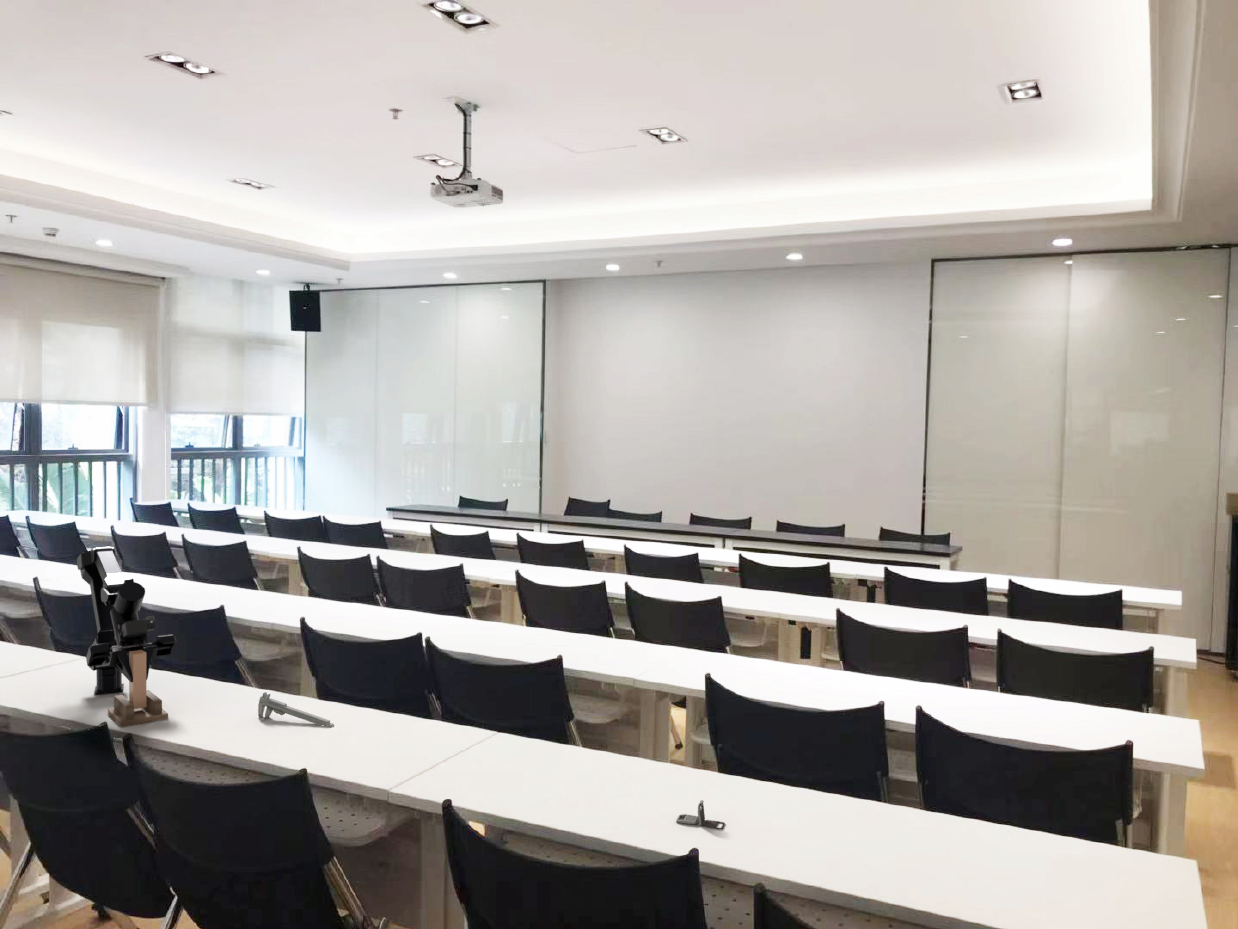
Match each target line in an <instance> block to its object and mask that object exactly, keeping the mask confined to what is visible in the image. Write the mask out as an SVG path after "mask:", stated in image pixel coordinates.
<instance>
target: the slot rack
mask: <svg viewBox="0 0 1238 929" xmlns="http://www.w3.org/2000/svg"><path fill="white" fill-rule="evenodd" d="M113 699H114V700H113V708H109V709H107V715H108V716H109V717H110V718H111V719H112V720H113V721H114V722H116V724H117V725H118V724H119V725H120V726H121V727H120V726H119V725H118V726H119V727H120V728H125V727H129V726H130V725H131V726H135V725H134V724H136V725H141V724H145V723H152V722H157V721H164V720H168V719H169V713H168V712H167V711H166V710H165V709H163V700H162V699H161V698H160V697H158V696H157V695H156V694H155V693H153V692H152V691H151V690H149V689H148V690H147V689H146V707H144V708H138V709H134V705H133V704H132V703H131V702H130V701H129V699H127V698H126V697H125V695H123V694H116V695H113ZM131 726H130V727H131Z"/></svg>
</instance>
